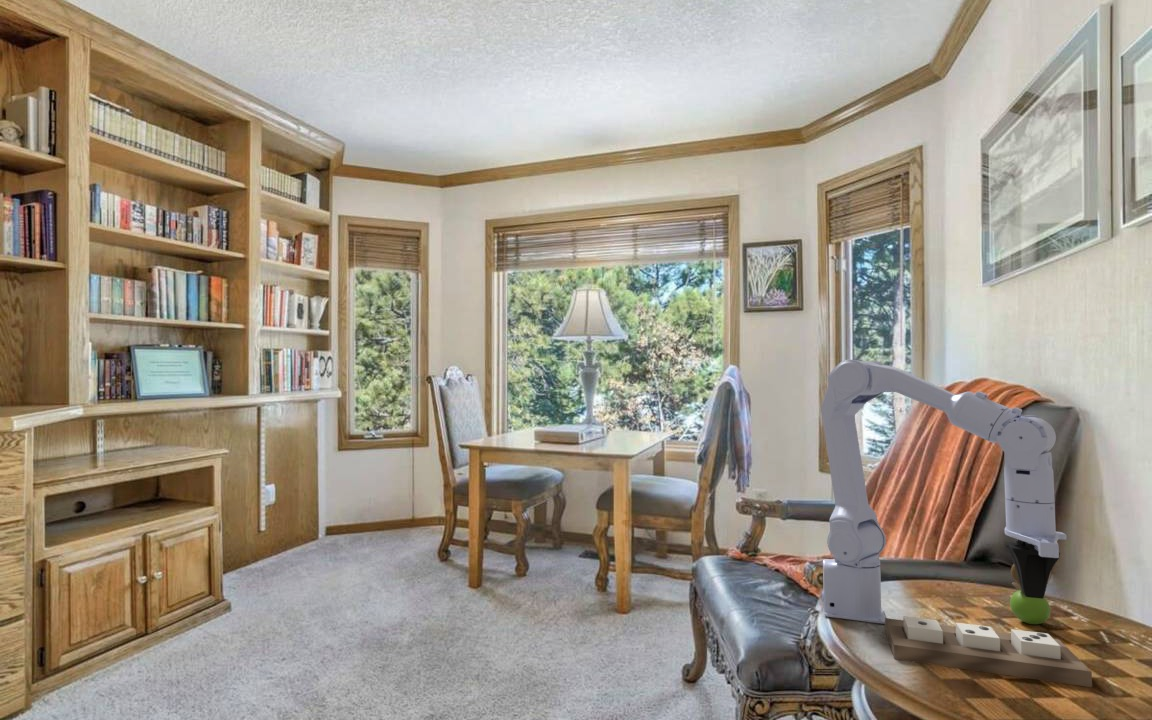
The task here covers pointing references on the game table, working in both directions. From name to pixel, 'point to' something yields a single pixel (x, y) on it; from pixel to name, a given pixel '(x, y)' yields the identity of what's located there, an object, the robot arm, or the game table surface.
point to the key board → (987, 657)
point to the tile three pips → (1035, 644)
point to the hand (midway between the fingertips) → (1033, 596)
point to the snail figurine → (1028, 604)
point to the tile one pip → (922, 630)
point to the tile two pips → (977, 636)
